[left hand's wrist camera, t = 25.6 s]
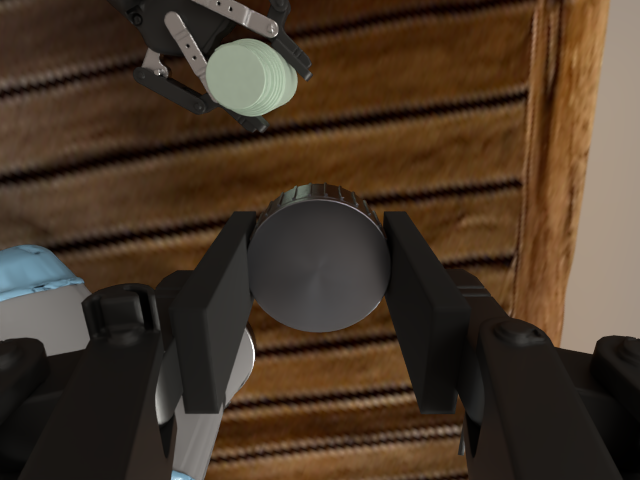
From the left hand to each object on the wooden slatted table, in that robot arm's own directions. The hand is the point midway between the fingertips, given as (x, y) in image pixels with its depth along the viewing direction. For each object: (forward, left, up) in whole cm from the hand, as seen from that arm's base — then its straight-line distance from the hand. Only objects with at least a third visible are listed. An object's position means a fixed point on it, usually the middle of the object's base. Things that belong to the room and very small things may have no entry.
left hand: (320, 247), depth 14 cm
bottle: (-4, +7, -28) cm, 29 cm away
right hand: (-2, +5, -21) cm, 22 cm away
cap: (0, 0, +2) cm, 2 cm away
